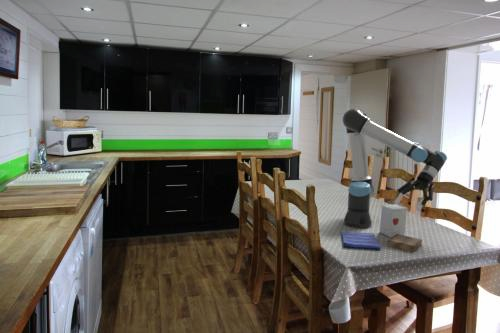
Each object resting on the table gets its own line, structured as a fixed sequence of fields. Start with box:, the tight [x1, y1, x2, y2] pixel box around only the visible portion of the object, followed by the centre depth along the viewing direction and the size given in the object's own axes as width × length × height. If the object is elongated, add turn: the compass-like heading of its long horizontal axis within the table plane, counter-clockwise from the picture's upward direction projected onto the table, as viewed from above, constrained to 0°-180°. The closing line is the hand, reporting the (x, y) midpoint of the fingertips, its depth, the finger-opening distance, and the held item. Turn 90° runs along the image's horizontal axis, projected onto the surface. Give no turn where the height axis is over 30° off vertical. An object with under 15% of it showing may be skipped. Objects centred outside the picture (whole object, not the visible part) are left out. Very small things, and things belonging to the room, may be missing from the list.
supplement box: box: [379, 203, 408, 238], centre depth 199 cm, size 9×9×15 cm
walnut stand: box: [387, 234, 423, 253], centre depth 183 cm, size 12×12×3 cm
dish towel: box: [340, 229, 382, 251], centre depth 189 cm, size 17×24×3 cm
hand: (406, 206), depth 202 cm, fingers open, 13 cm apart
